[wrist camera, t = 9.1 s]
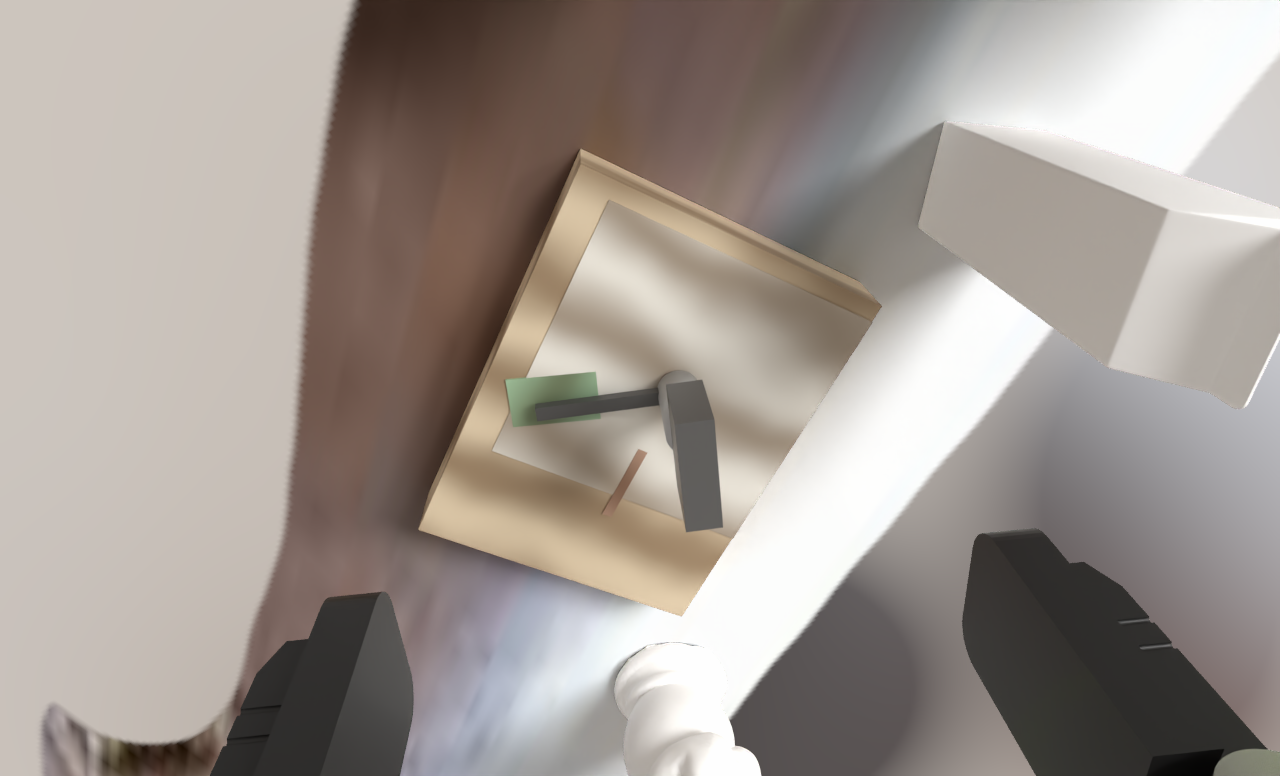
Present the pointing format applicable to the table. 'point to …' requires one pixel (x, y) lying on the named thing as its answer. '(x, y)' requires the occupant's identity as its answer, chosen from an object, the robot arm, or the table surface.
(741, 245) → the dial board
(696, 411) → the lever
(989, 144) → the milk
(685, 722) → the cherub figurine
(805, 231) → the table surface
